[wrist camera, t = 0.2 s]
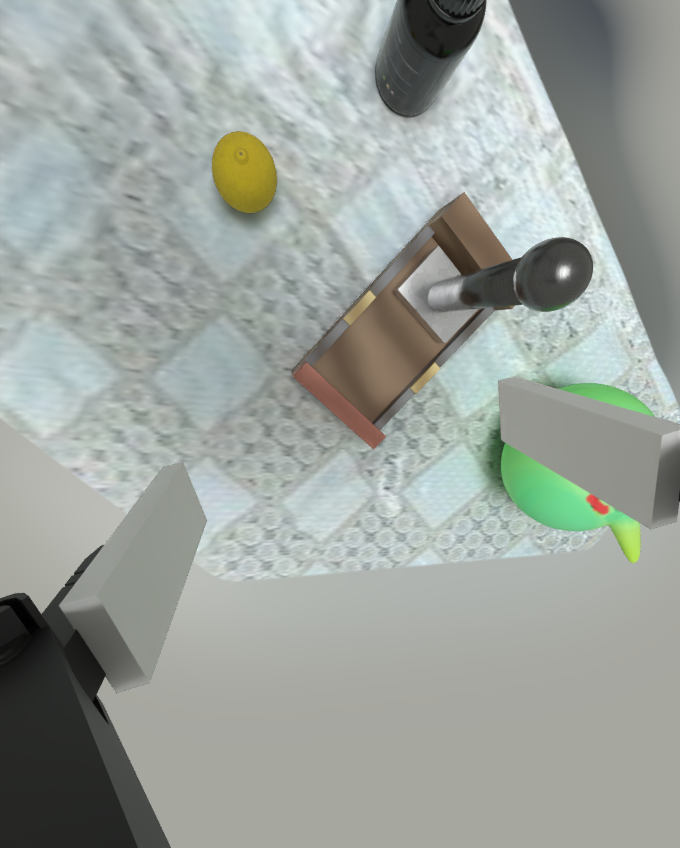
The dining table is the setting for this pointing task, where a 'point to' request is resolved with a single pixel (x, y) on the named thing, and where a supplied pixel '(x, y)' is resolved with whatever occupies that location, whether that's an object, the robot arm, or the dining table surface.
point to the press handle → (494, 285)
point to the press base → (396, 329)
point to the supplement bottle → (425, 50)
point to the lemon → (244, 172)
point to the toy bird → (570, 484)
